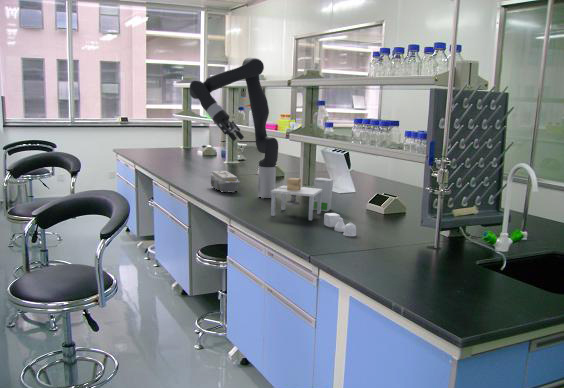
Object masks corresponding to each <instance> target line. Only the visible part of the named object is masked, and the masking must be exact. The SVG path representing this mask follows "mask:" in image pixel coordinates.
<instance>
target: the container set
mask: <svg viewBox="0 0 564 388" xmlns="http://www.w3.org/2000/svg"><path fill="white" fill-rule="evenodd" d="M323 216H324V217H323V225H324V226H326V227H328V228H334V231H335V232H343V234H342V235H343V236H346V237H356V236H357V226H356V225H355V224H354V223H352V222H349V223H346V224H345V222H344V218H343V217H341V215H340V214H338V213H336V212H327V213H324V215H323Z"/></svg>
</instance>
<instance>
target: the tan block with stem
mask: <svg viewBox="0 0 564 388" xmlns="http://www.w3.org/2000/svg"><path fill="white" fill-rule="evenodd" d="M286 181H287V182H286V186H287V190H295V191H298V190H300V189H301V187H302V185H301V184H302V178H298V177H297V178H296V177H289V178H287V180H286ZM300 203H301V202H300V200H299V201H298V200H297V195H291V197H290V200H288V201H286V204H287V205H289V206H300V205H301V204H300Z"/></svg>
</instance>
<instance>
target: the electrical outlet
mask: <svg viewBox="0 0 564 388" xmlns="http://www.w3.org/2000/svg"><path fill="white" fill-rule="evenodd" d="M209 174H210V185H211V187H212V188H213V189H214V188H215V189H214V190H216V189H217V190H220V191H223V192H228V191H239V190H238V189H239V183H241V181H240V180H239V179H238V176H236V174H235V175H234V174H233V173H231V172H229V171H227V170H212V171H210V172H209ZM217 190H216V191H217Z"/></svg>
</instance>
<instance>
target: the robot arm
mask: <svg viewBox="0 0 564 388" xmlns="http://www.w3.org/2000/svg"><path fill="white" fill-rule="evenodd" d="M264 69H265V65H264V63H263V61H262V60H261V59H259V58H256V57H246V58H245V59H244V60H243V61H242V63H241V66H238V67H235V68H232V69H229V70H226V71H221V72H218V73H216V74H212V75H211V76H208V77H207V78H206V80H205V81H201V80H200V79H199V80H198V79H193V80H192V81H191V82H190V83H189V95H190V97H192V98H193V99H195V100H198V101H199V103H200V106H201V108H202V109H203V110H204V111H205V112H206V113H207V115H208V116H209V117H210V118H211V120H212V121H213V122H214V124H215V125H216V126H217V127H218V128H219V129H220V131H221V132H222V133H223V134H224V135H226V136H228V137H229V138H230V139H231V140H232V141H233V142H234V141H236V140H237V137H238V139H240V140H243V139H244V138H245V136H244V135H243V134H242V133H241V132H240V131H241V128H240V127H239V126H238V125H237V124H236V123H235V121H234V120H232V121H230V120H229V119H230V115H229V114H228V112H227V111H226V110H225V109H224V108H223V107H222V106H221V105H220V104H219V102H217V101H216V99H215V98H214V97H213V96H212V95H211V93H212V92H214V91H217V90H219V89H221V88H224V87H226V86H229V85H231V84H233V83H237V82H239V81H242V80H244V81H245V83H246V87H247V94H248V99H249V106H250V111H251V115H252V121H253V128H254V135H255V145H256V150H257V151H258V152H259V153H261V154H264V158H262V159H260V160H259V161H258V188H257V189H258V190H257V198H259V197H261V198H260V199H264V198H271V196H272V193H271V190H274V189H276V176H277V175H276V173H277V172H276V170H277V167H276V166H277V161H278V156H279V141H278V139H277V138H276V137H273V136H268V134H267V129H266V125H267V122H268V118H269V116H270V115H269V114H270V110H269V109H270V108H269V103H268V99H267V96H266V94H265V92H264V90H263V87H262V84H261V81H260V75H261V74H262V73H263V72H264Z"/></svg>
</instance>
